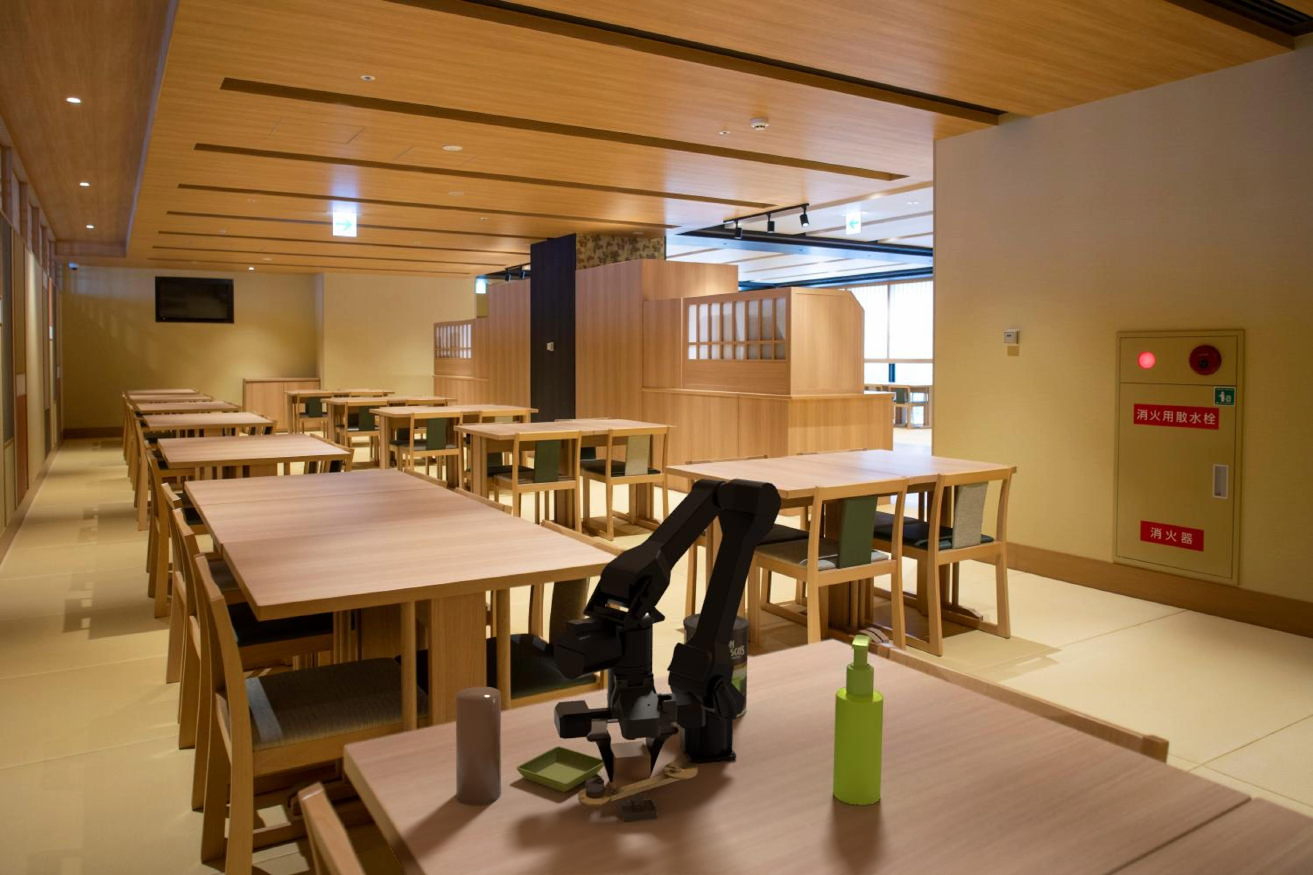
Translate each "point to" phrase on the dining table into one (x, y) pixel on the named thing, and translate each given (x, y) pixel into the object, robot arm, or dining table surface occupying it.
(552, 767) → the green square dish
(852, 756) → the soap dispenser
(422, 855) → the dining table surface
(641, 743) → the block
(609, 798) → the balance
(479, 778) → the brown cylinder
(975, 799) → the dining table surface
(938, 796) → the dining table surface
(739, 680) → the coffee can
